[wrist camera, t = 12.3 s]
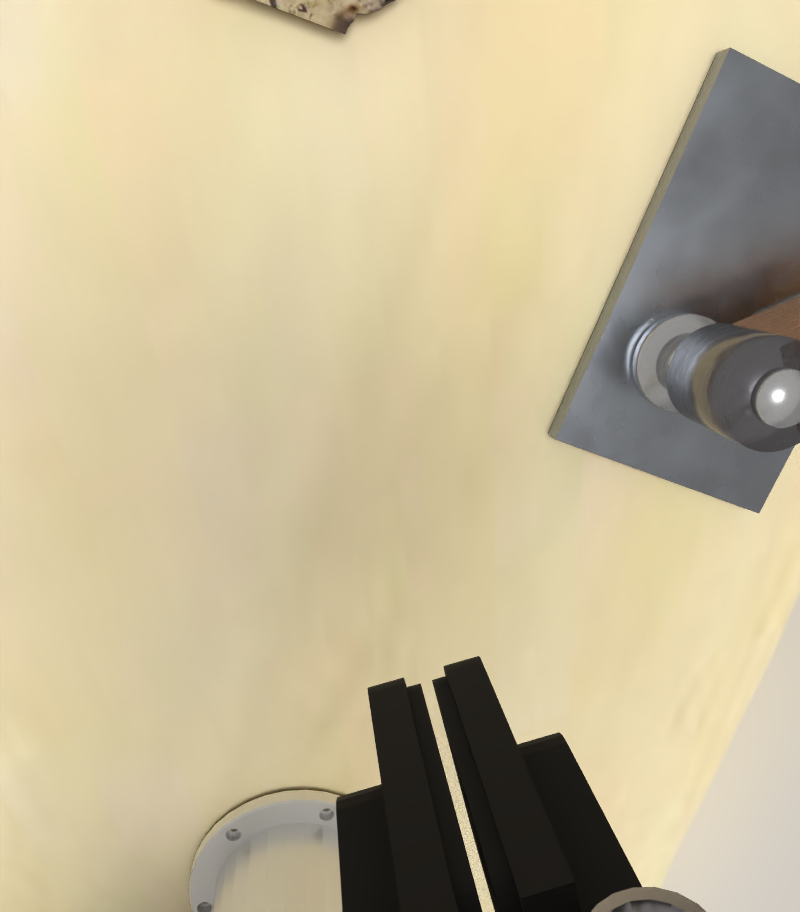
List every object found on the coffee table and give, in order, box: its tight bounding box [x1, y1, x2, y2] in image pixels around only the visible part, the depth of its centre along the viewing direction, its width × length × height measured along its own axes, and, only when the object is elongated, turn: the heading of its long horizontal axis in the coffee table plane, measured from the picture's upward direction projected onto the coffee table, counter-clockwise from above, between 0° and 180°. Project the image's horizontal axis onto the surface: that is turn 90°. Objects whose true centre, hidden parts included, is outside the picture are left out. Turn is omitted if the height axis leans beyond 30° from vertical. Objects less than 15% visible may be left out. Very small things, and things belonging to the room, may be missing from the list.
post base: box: [548, 48, 800, 513], centre depth 38 cm, size 20×13×4 cm
